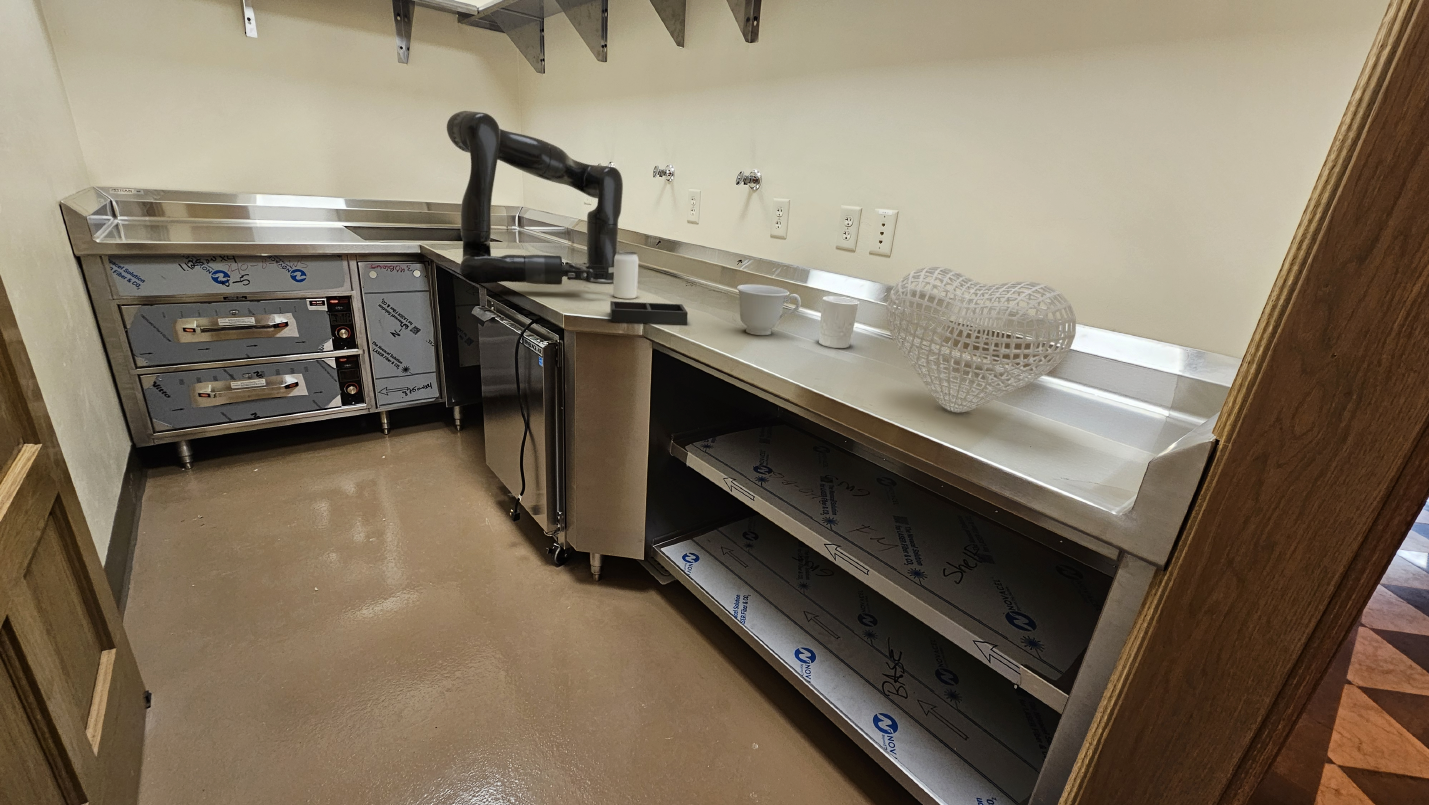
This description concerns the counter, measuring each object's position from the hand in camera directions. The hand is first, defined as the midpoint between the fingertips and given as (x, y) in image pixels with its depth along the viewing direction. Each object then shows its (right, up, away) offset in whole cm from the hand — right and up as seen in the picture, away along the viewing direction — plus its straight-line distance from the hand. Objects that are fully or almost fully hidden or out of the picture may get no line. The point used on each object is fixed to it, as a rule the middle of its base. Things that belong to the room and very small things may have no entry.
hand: (605, 272), depth 163 cm
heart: (+68, -37, -64) cm, 100 cm away
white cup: (+56, -22, -28) cm, 66 cm away
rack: (+13, -15, -19) cm, 28 cm away
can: (+5, -6, +4) cm, 9 cm away
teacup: (+41, -19, -23) cm, 51 cm away
